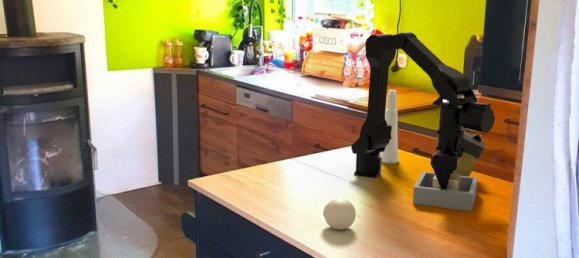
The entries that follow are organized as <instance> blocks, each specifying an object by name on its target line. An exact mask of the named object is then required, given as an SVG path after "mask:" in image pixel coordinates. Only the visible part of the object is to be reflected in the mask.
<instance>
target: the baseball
mask: <svg viewBox="0 0 579 258" xmlns="http://www.w3.org/2000/svg"><path fill="white" fill-rule="evenodd" d="M356 213H357V212H356V208H355V206H354V205H353V203H352V202H351V201H350V200H348V199H345V198H334V199H331V200H330V201H329V202H328V203H327V204H326V205H325V206H324V208H323V212H322V214H323V217H324V220H325V223H326V224H327V225H328V226H329V227H330V228H332V229H334V230H346V229H349V228H350V227H352V226H353V223H355V220H356V215H357V214H356Z"/></svg>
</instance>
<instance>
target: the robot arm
mask: <svg viewBox="0 0 579 258" xmlns="http://www.w3.org/2000/svg"><path fill="white" fill-rule="evenodd" d="M364 44H365V45H364V47H365V57H366V60H367V62H368V64H369V68H370V69H369V71H370V72H369V81H368V82H369V84H368V97H367V112H366V119H365V120H364V121H363V123H362V125H361V126H360V131H359V136H358V139H356V141H354V143H352V145H351V146H350V148H351V152H352V154H355V155H356V156H355V171H354V172H353V175H356V176H363V177H371V178H372V177H373V178H377V176H378V175H379V174H380V173H382V165H383V163H382V158H381V157H380V154H381V152H384V151H385V148H386V146H387V145H388V144H389V141H390V139H392V138H391V130H392V126H391V125H388V124H387V122H386V120H385V110H386V109H387V97H388V83H389V82H388V81H389V69H390V66H391V65H392V63H393V62H394V59H395V58H396V54H397V50H402V51H403V52H404V53H405V54H406V55H407V56H408V58H409V59H410V60H412V61H413V62H414V63H415V64H416V65H417V66H418V68H420V69H421V70H422V71H423V72H424V73H425V74H426V75H427V76H428V77H429V79H430V81H431V83H432V84H431V85H432V87H433V88H434V90H435V91H436V93H437V94H438V95H439V96H438V98H436V99H435V100H434V101H432V105H434V106H438V107H439V118H438V128H437V131H436V134H437V144H436V146H435V152H434V153H433V154H432V156H431V157H430V166H431V168H432V169H433V173H435V175H436V177H437V180H438V183H439V185H440V188H441V189H444V190H446V189H447V186H448V182H449V179H450V175H451V174H453V171H454V170H456V169H457V168H458V164H459V158H460V157H461V156H462V155H463V152H466V153H468V154H470V155H472V156H473V157H475V158H476V159H480V158H481V156H482V154H483V152H484V150H485V148H486V143H485V142H484V141H483V140H482V139H483V136H482V135H481V134H479V133H475V134H474V135H472V136H471V135H466V134H465V129H466V130H472V131H475V132H481V133H485V134H487V133H490V131H492V129H493V127H494V126H495V120H496V117H495V112H494V111H493V109H492V107H491V106H492V104H491V103H489V102H488V103H487V102H484V103H483V102H479V99H478V98H477V96H476V94H475V92H474V90H473V88H472V86H471V80H470V79H469V77H468V76H467V75H466V74H464V73H463V72H461V71H459V70H458V69H457V68H453V67H452V66H449V65H447V64H446V63H444V62H443V61H442V60H441V59H440V58H439V57H438V56H437V55H435V54H434V53H433V51H432V50H431V49H429V48H428V47H427V46H426V44H424V43H423V42H422V41H421V40H420V39H418V36H417V35H416V34H415V33H414V32H409V31H408V32H399V33H398V34H397V33H396V34H392V33H391V34H390V33H381V34H379V33H378V34H371V35H369V36H368V37H367V38H366V40H365V43H364Z"/></svg>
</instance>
